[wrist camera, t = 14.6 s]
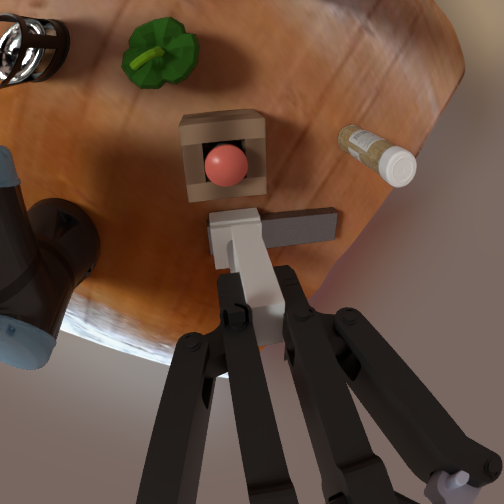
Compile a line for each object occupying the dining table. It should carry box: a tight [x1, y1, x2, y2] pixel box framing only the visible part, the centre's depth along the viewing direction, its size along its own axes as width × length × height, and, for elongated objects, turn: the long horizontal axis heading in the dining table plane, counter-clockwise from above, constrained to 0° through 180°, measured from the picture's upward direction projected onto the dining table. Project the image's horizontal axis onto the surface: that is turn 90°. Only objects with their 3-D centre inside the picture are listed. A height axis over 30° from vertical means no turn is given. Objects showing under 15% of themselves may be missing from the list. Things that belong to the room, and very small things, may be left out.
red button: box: [205, 140, 248, 187], centre depth 32 cm, size 4×4×8 cm
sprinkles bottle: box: [338, 125, 417, 187], centre depth 34 cm, size 5×5×14 cm
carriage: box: [209, 208, 262, 273], centre depth 39 cm, size 7×8×16 cm
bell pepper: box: [122, 17, 199, 89], centre depth 25 cm, size 8×8×10 cm
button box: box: [179, 109, 267, 203], centre depth 34 cm, size 9×9×8 cm
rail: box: [207, 207, 338, 255], centre depth 45 cm, size 20×5×2 cm, turn 92°
